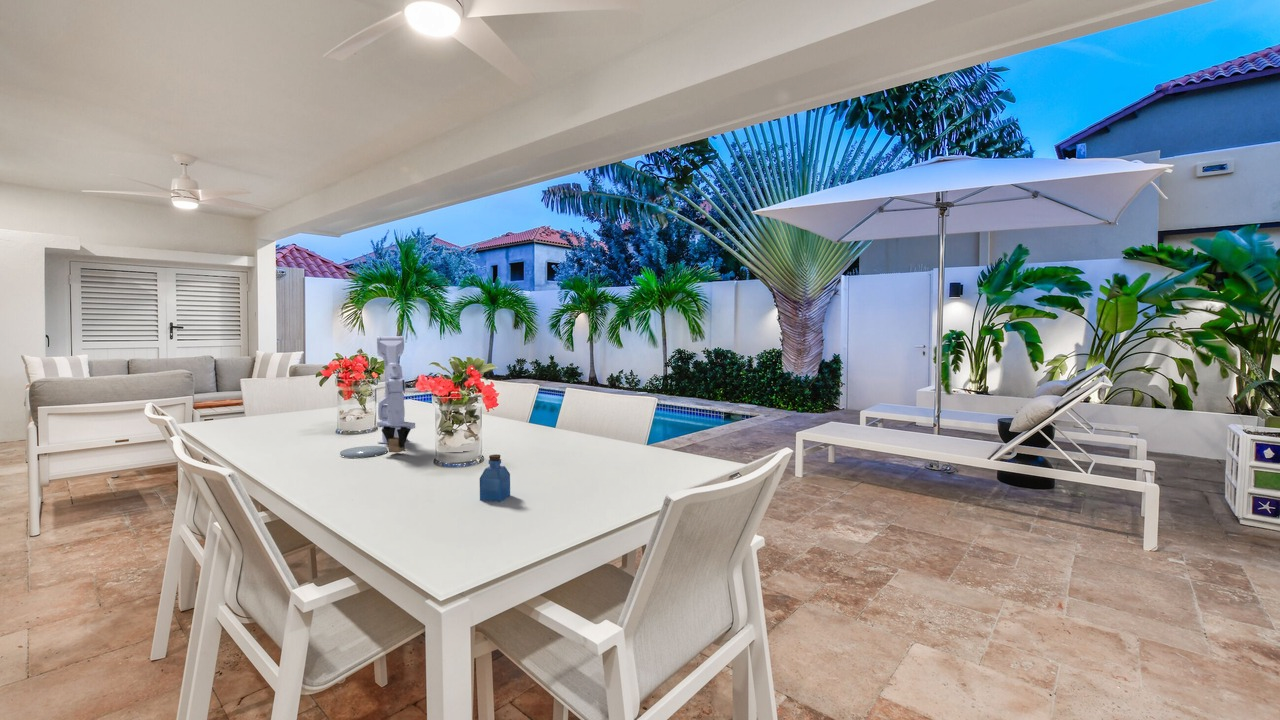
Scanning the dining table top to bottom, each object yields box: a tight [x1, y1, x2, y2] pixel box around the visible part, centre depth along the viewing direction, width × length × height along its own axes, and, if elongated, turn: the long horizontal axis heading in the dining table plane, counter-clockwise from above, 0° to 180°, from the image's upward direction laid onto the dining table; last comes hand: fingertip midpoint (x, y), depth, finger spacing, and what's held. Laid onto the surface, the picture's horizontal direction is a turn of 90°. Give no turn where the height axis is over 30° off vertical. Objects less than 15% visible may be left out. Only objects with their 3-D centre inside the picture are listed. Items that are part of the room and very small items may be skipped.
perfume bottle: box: [479, 453, 511, 503], centre depth 157 cm, size 6×6×12 cm
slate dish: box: [339, 445, 388, 458], centre depth 211 cm, size 16×16×1 cm
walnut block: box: [387, 437, 406, 454], centre depth 209 cm, size 4×4×5 cm
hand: (396, 446), depth 209 cm, fingers closed on walnut block, 4 cm apart
